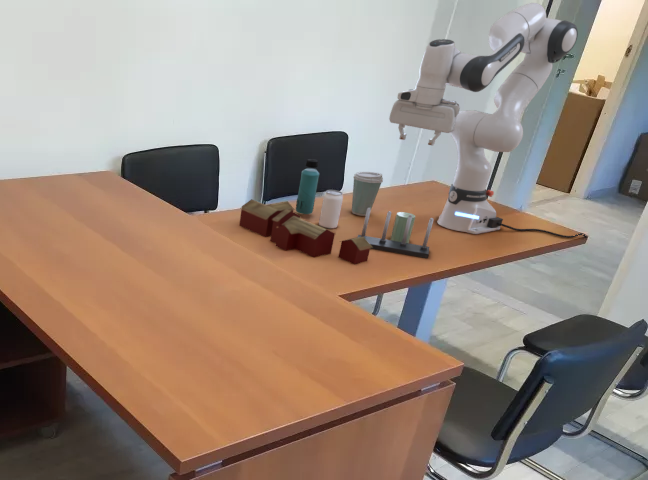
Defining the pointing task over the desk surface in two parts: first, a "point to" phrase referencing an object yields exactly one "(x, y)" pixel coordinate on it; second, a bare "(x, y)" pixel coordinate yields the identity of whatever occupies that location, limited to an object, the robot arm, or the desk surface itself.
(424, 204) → the desk surface
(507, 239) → the desk surface
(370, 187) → the disposable coffee cup
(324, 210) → the can
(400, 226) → the cup
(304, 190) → the beverage bottle
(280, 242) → the toy houses
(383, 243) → the dish rack
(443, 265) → the desk surface
